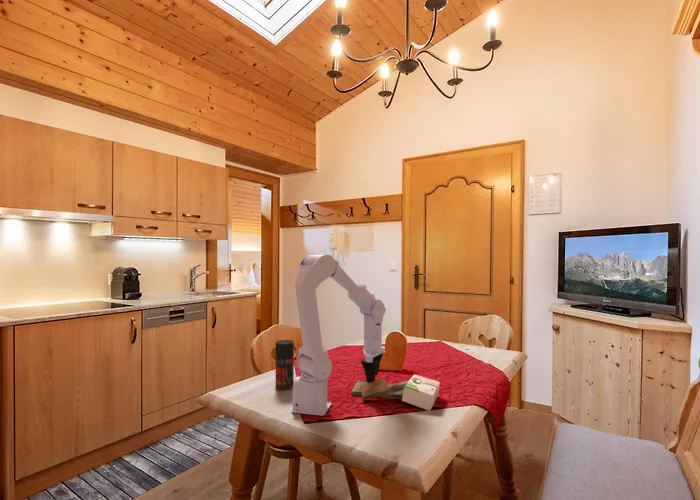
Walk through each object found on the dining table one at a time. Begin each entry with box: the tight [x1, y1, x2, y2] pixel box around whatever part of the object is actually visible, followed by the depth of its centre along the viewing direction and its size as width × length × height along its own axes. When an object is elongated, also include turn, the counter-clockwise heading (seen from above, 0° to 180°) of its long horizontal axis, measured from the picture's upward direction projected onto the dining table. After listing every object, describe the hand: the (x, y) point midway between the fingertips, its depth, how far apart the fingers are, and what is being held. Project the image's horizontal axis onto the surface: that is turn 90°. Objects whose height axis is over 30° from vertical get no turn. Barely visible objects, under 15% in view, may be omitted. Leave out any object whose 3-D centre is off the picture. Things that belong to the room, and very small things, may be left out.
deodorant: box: [275, 339, 295, 392], centre depth 123 cm, size 6×6×15 cm
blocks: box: [360, 378, 408, 401], centre depth 113 cm, size 14×5×4 cm
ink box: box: [401, 374, 441, 412], centre depth 112 cm, size 9×5×12 cm
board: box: [350, 381, 404, 400], centre depth 119 cm, size 18×9×1 cm, turn 77°
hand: (372, 378), depth 119 cm, fingers open, 7 cm apart
